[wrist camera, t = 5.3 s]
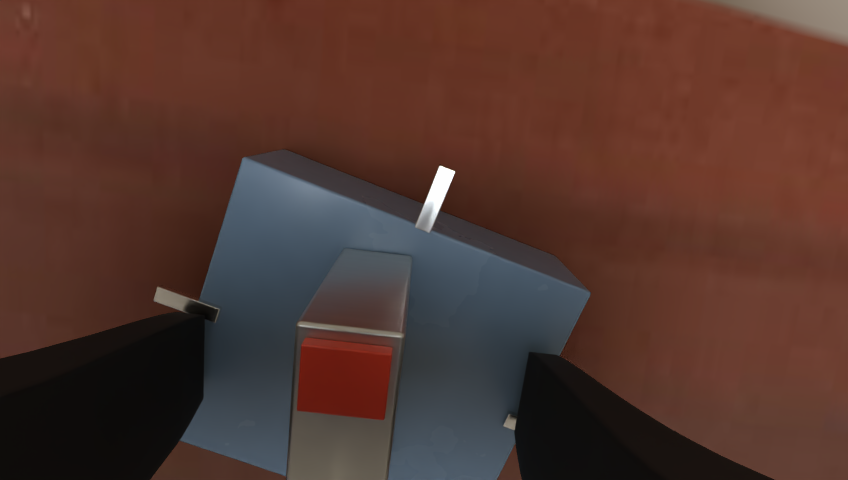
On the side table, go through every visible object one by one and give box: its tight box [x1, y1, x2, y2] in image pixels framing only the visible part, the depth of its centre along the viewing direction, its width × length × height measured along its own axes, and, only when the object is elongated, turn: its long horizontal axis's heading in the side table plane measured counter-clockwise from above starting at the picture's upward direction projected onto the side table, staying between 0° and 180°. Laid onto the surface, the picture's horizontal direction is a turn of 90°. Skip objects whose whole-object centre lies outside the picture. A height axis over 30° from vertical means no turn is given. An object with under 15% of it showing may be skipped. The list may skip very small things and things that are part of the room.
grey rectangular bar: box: [286, 248, 412, 480], centre depth 9 cm, size 6×2×4 cm, turn 173°
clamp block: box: [154, 149, 591, 480], centre depth 13 cm, size 10×10×3 cm
